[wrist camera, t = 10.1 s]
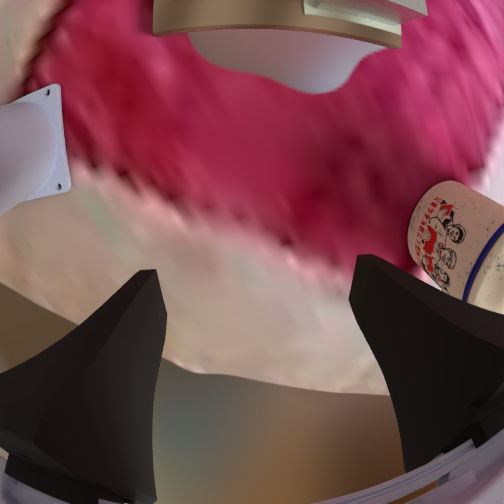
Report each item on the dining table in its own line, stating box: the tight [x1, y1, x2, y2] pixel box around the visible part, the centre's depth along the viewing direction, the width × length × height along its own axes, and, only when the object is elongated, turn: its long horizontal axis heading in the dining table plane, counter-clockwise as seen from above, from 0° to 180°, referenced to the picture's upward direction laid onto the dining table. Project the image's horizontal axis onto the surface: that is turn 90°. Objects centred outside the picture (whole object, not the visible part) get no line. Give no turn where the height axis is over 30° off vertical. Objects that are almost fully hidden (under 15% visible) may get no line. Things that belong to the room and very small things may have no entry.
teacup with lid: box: [408, 181, 504, 314], centre depth 17 cm, size 12×9×12 cm
